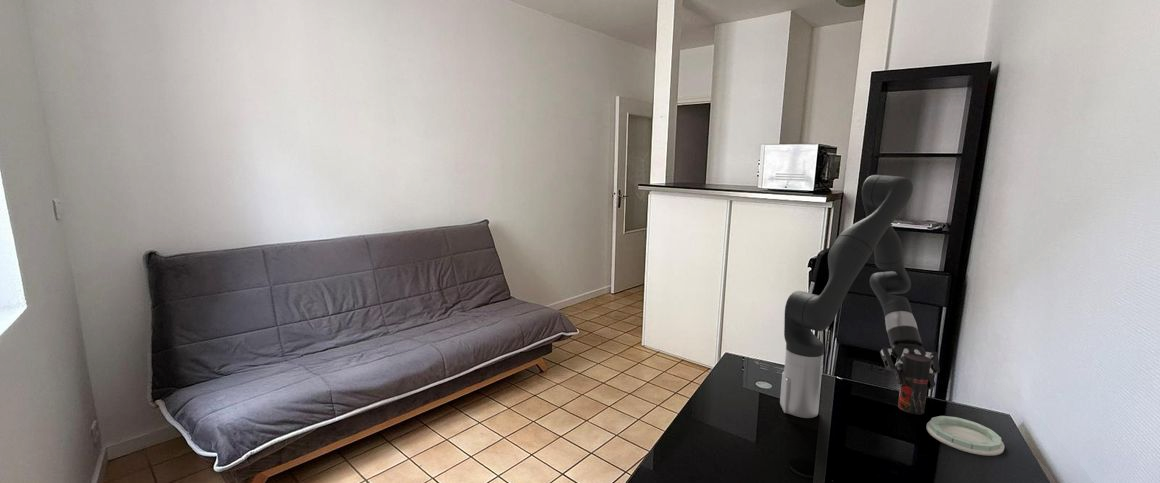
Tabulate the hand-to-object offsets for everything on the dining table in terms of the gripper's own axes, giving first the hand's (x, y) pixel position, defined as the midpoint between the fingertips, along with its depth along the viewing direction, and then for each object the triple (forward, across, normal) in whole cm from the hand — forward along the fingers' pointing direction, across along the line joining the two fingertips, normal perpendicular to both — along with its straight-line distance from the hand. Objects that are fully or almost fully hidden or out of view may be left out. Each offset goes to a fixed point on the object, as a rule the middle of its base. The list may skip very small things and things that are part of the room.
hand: (917, 386), depth 125 cm
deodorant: (+4, 0, +6) cm, 8 cm away
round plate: (+12, +7, -1) cm, 14 cm away
